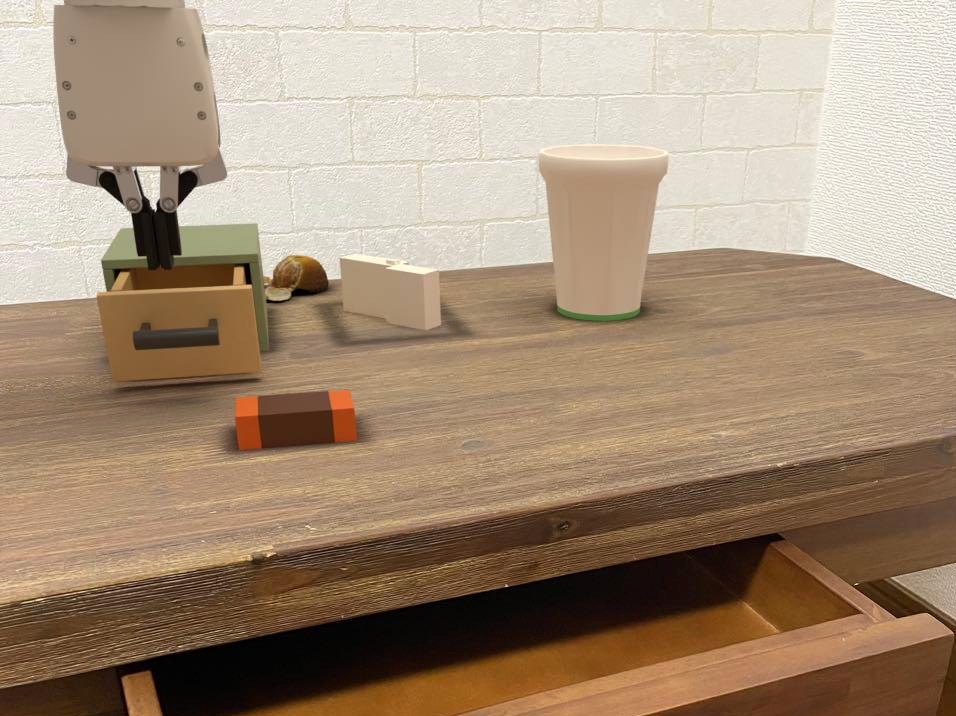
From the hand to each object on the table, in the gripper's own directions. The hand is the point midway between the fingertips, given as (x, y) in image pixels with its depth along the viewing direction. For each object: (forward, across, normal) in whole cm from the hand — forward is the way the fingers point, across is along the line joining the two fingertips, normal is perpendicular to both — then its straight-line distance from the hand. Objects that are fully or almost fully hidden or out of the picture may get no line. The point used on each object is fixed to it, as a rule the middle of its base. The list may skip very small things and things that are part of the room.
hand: (161, 265), depth 76 cm
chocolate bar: (+10, -9, +10) cm, 17 cm away
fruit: (+10, -9, -34) cm, 36 cm away
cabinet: (+10, -1, -19) cm, 21 cm away
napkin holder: (+10, -19, -20) cm, 29 cm away
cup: (+10, -40, -19) cm, 45 cm away
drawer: (+9, -1, -7) cm, 12 cm away
